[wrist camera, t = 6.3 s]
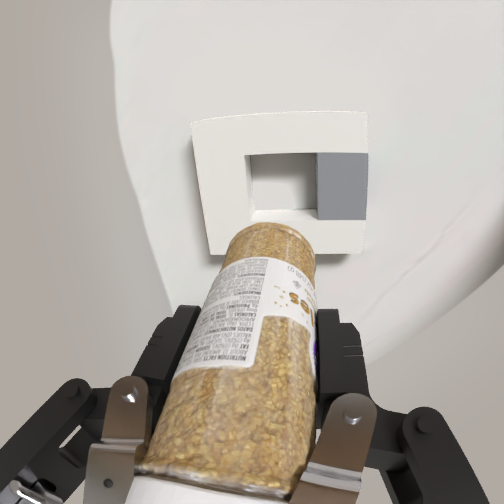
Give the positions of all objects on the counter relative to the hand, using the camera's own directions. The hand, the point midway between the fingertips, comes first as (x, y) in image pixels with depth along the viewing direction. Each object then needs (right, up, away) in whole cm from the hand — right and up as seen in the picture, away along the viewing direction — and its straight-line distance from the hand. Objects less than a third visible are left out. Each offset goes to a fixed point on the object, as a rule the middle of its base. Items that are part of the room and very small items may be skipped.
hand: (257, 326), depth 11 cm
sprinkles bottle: (+1, +2, +4) cm, 5 cm away
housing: (+3, +10, +18) cm, 21 cm away
